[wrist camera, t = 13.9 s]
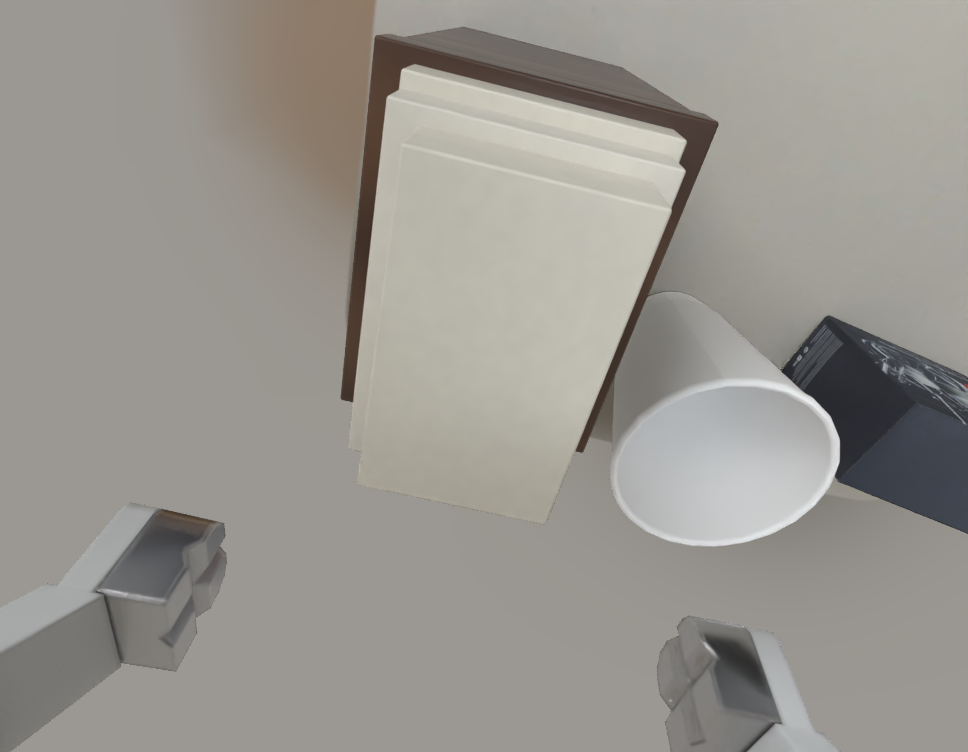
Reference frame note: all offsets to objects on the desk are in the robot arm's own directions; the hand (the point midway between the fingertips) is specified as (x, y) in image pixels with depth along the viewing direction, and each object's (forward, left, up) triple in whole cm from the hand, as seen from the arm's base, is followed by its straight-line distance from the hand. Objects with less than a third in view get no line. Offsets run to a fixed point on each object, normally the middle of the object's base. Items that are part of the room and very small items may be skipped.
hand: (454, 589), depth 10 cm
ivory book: (0, 0, -10) cm, 10 cm away
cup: (+16, +6, -34) cm, 38 cm away
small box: (+26, +20, -34) cm, 47 cm away
